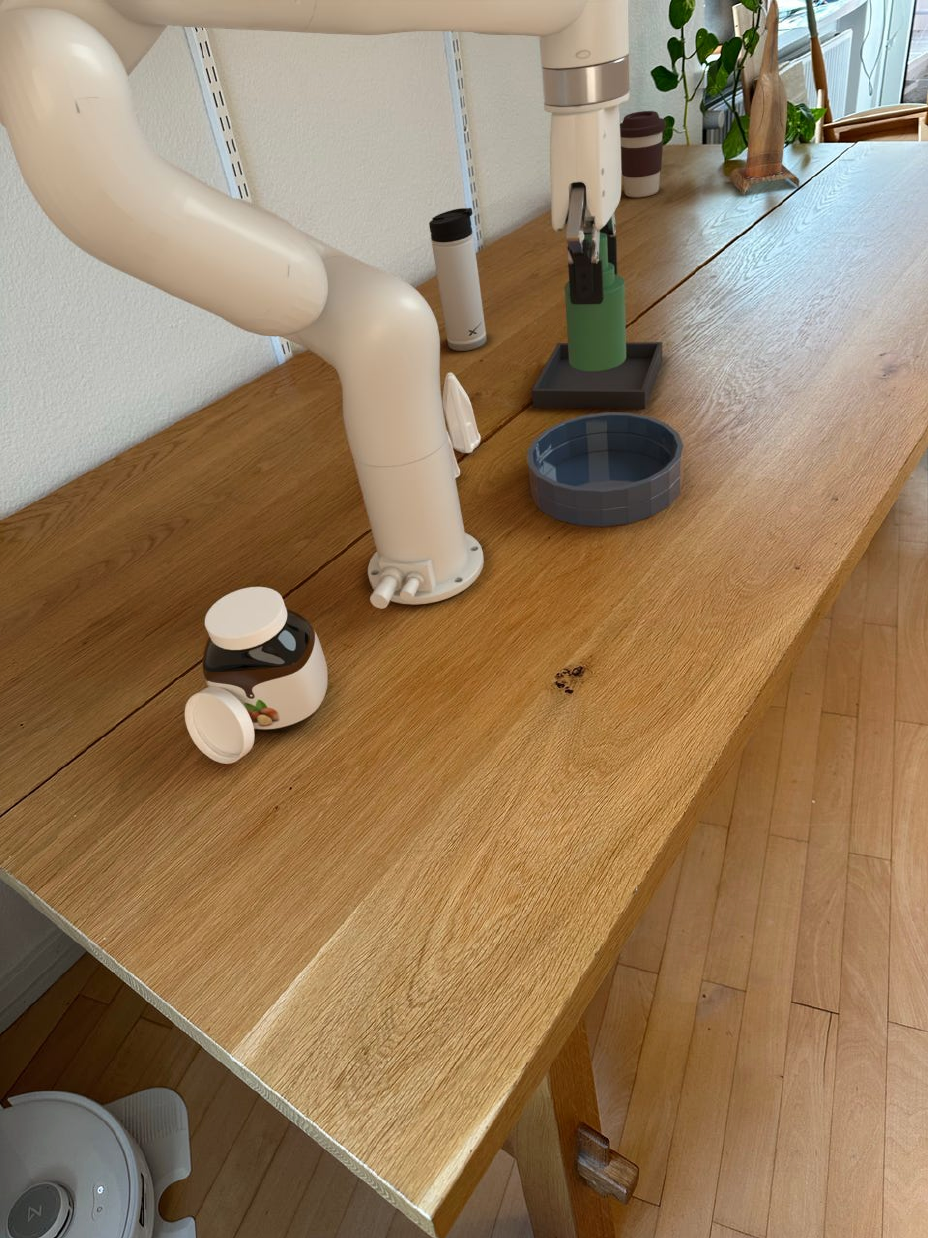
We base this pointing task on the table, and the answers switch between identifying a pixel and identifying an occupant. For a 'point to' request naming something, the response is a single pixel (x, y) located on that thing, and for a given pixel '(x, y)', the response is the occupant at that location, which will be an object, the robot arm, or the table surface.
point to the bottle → (598, 322)
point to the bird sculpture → (766, 118)
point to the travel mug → (458, 279)
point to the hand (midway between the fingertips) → (594, 288)
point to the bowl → (606, 469)
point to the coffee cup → (641, 152)
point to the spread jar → (254, 674)
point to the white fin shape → (459, 419)
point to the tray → (599, 380)
